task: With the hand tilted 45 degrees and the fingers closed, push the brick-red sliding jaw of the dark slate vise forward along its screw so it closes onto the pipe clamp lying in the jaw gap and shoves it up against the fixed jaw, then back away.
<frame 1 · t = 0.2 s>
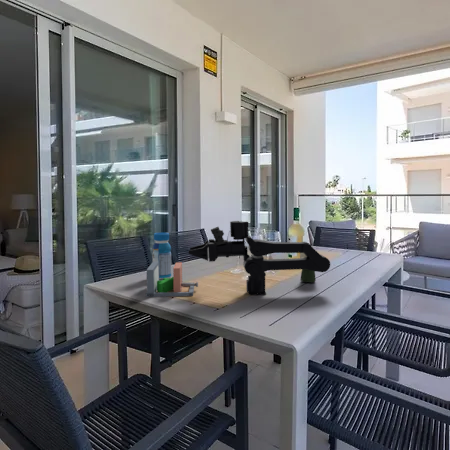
hand: (189, 250, 135), 16 cm above the table, tool horizontal, fingers open, 9 cm apart
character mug: (307, 282, 153), on the table
vise body: (171, 290, 140), on the table
sliding jaw: (186, 277, 140), point 5 cm above the table, slide at 0.0 cm
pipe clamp: (165, 291, 140), on the table
beverage bottle: (162, 277, 161), on the table
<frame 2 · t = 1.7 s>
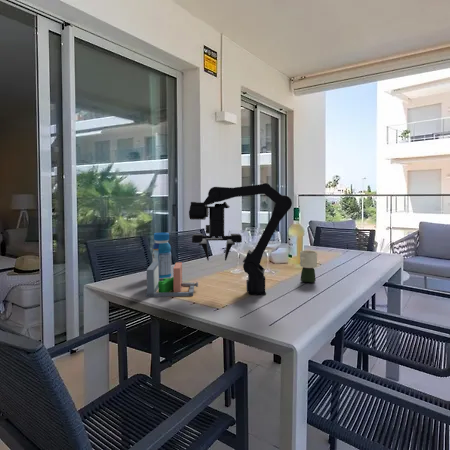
hand: (216, 260, 138), 12 cm above the table, tool pointing down, fingers open, 6 cm apart
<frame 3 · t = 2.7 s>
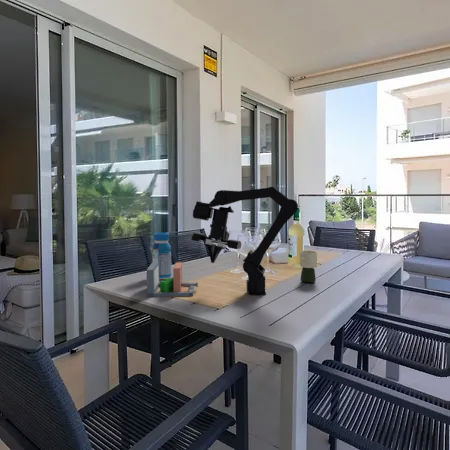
hand: (212, 262, 138), 11 cm above the table, tool pointing down, fingers closed
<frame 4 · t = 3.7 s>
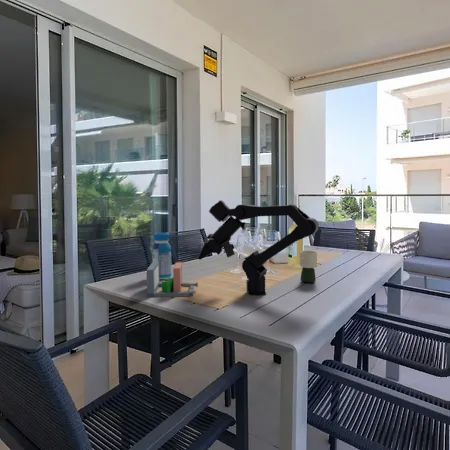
hand: (198, 258, 139), 12 cm above the table, tool tilted 45°, fingers closed
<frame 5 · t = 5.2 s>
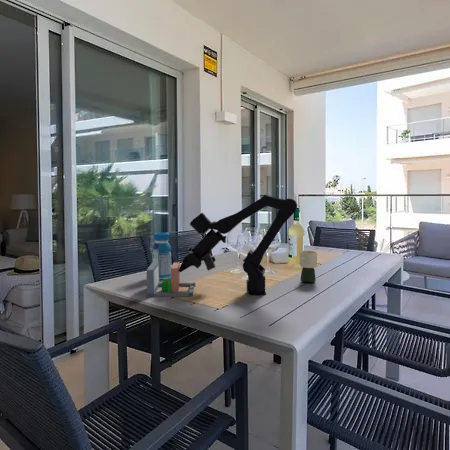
hand: (179, 271, 140), 8 cm above the table, tool tilted 45°, fingers closed, pressing on sliding jaw
sliding jaw: (183, 277, 140), point 5 cm above the table, slide at 0.9 cm, touching gripper, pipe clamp
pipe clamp: (167, 291, 139), on the table, touching sliding jaw
everything else where it was.
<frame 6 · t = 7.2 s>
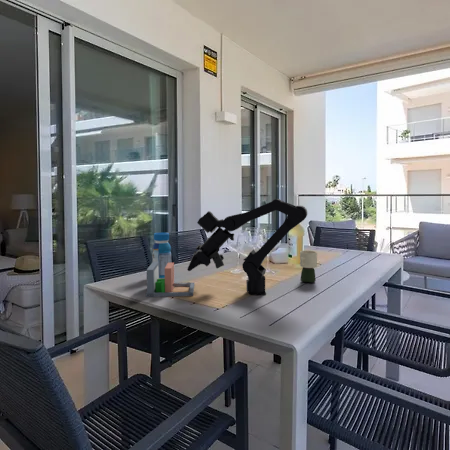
hand: (188, 270, 140), 8 cm above the table, tool tilted 45°, fingers closed
sliding jaw: (178, 277, 140), point 5 cm above the table, slide at 3.2 cm, touching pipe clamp
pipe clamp: (161, 292, 139), on the table, touching sliding jaw
everything else where it was.
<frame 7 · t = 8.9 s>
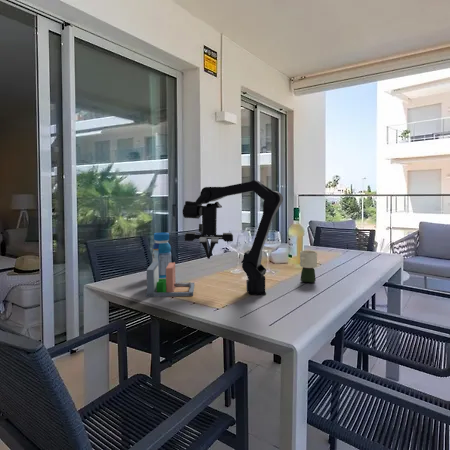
hand: (208, 258, 142), 12 cm above the table, tool pointing down, fingers closed
sliding jaw: (179, 277, 140), point 5 cm above the table, slide at 2.7 cm
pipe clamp: (163, 292, 139), on the table
everything else where it was.
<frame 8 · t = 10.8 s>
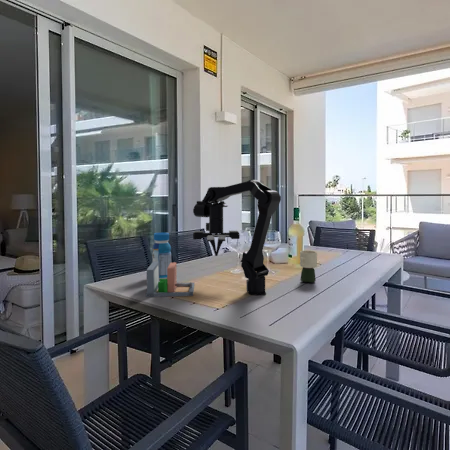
hand: (216, 255, 148), 12 cm above the table, tool pointing down, fingers closed
sliding jaw: (180, 277, 140), point 5 cm above the table, slide at 2.2 cm
everything else where it was.
at the end: sliding jaw slide at 2.2 cm; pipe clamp moved 0.9 cm from its start; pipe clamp 1.9 cm from the target spot on the vise body, point 0.0 cm above the vise body's base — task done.
